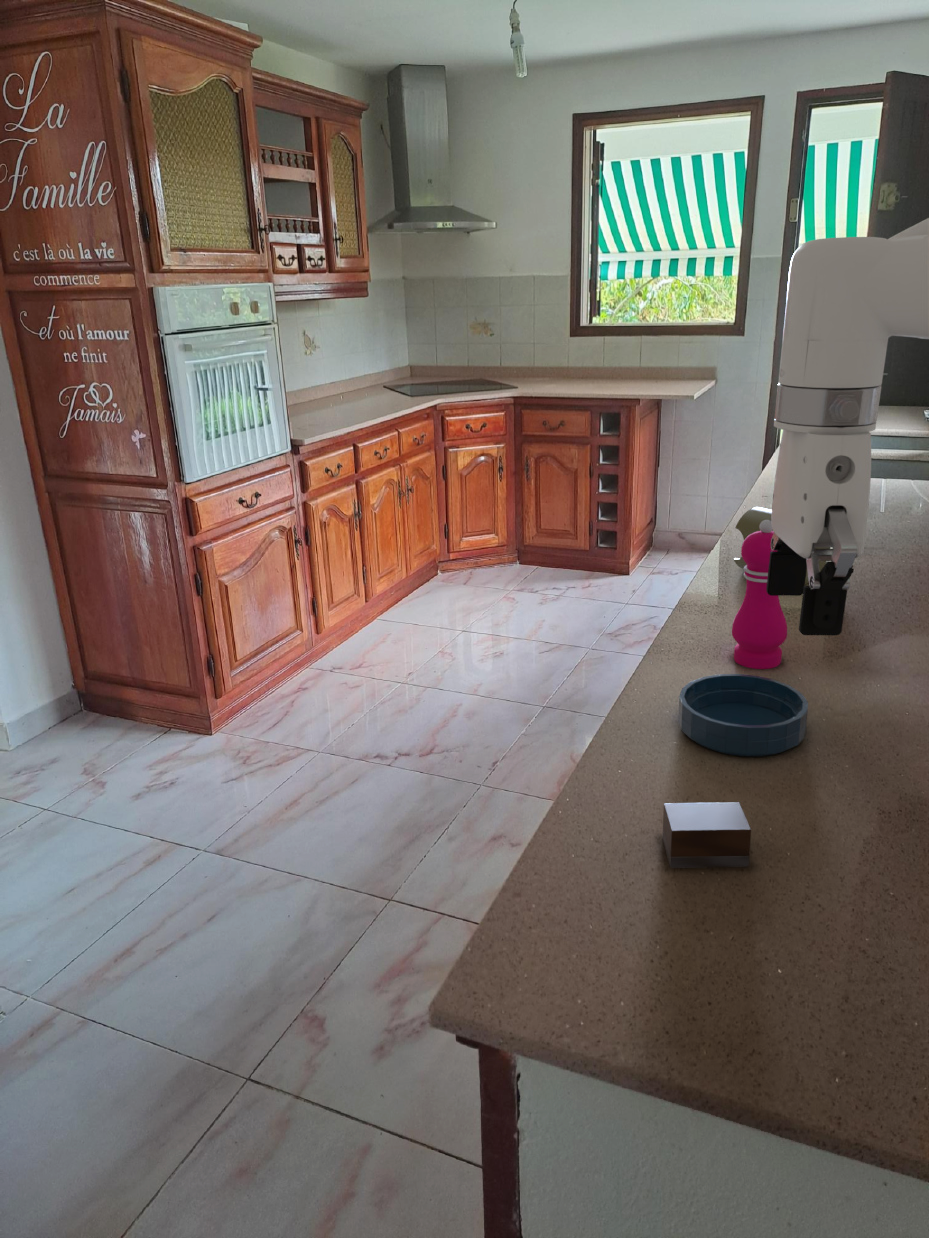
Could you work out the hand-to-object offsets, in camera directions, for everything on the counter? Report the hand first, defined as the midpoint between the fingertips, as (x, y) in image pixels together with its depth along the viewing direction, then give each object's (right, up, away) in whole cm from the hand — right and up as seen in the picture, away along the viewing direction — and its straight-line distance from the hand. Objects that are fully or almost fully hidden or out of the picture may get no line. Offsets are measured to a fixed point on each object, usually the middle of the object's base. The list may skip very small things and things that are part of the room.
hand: (800, 613), depth 75 cm
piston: (+27, +7, +81) cm, 85 cm away
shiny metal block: (-6, -22, +7) cm, 24 cm away
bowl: (+4, -14, +29) cm, 32 cm away
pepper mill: (+12, -7, +47) cm, 49 cm away
